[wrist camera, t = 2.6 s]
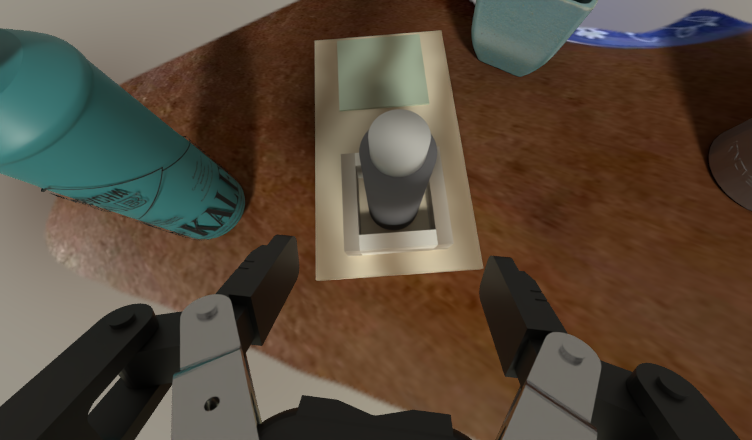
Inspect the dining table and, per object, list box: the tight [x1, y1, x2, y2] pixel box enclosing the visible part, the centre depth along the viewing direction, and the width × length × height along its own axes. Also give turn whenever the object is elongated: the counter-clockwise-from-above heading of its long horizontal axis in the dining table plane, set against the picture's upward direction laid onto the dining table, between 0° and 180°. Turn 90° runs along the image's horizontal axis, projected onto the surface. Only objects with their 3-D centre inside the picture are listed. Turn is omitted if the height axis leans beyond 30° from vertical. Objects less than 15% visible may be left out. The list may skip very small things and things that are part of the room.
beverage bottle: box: [0, 29, 245, 240], centre depth 16 cm, size 6×7×20 cm
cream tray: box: [315, 30, 483, 281], centre depth 26 cm, size 14×26×3 cm, turn 4°
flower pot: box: [472, 0, 598, 77], centre depth 26 cm, size 9×9×9 cm
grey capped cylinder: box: [359, 109, 437, 230], centre depth 19 cm, size 4×4×11 cm
